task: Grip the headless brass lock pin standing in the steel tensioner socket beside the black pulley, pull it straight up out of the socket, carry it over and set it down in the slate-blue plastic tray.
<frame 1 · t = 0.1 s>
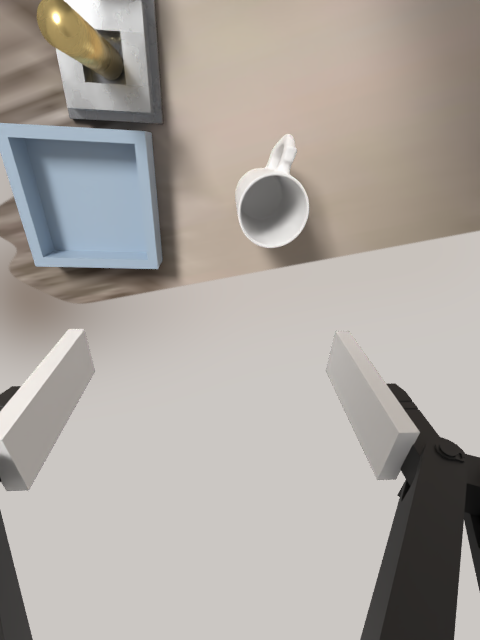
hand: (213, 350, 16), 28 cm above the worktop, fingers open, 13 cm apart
tray: (96, 200, 37), on the worktop
mug: (263, 181, 38), on the worktop
tensioner: (104, 17, 29), on the worktop
lock pin: (108, 62, 31), point 1 cm above the worktop, touching tensioner
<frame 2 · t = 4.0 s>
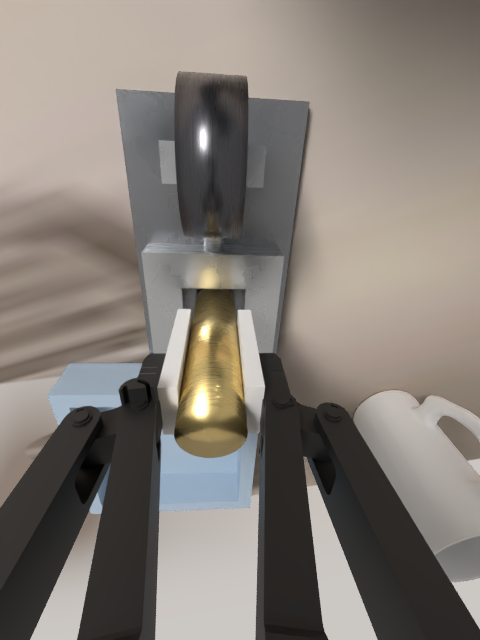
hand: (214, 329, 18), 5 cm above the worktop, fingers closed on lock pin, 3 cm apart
tray: (171, 426, 28), on the worktop
mug: (392, 399, 29), on the worktop
tensioner: (214, 252, 20), on the worktop
lock pin: (215, 303, 21), point 1 cm above the worktop, touching gripper
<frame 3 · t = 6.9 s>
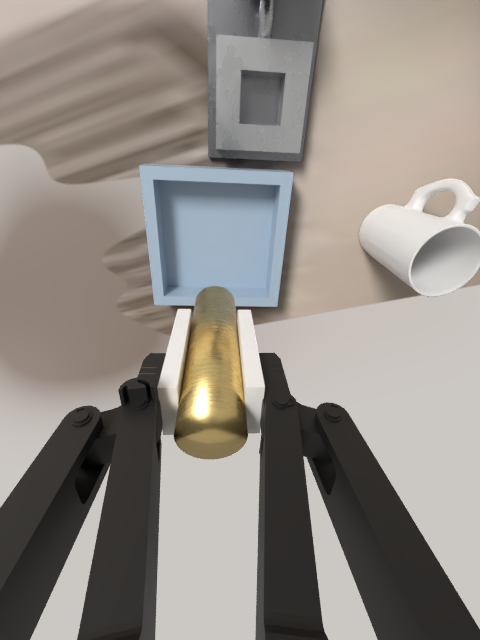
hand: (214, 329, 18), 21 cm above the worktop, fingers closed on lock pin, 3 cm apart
tray: (217, 236, 36), on the worktop
mug: (389, 217, 36), on the worktop
tensioner: (261, 56, 28), on the worktop
lock pin: (215, 304, 21), point 18 cm above the worktop, touching gripper
when the fingers open (5 cm above the worktop, at t = 10.0 s): lock pin stays where it is, resting on tray.
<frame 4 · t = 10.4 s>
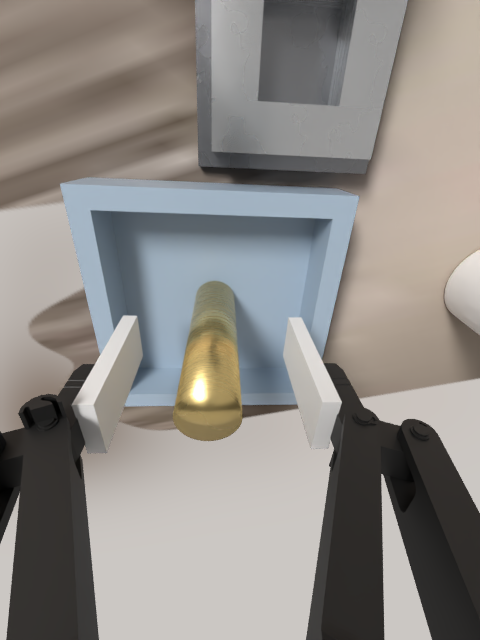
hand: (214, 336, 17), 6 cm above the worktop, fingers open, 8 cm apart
tray: (215, 295, 22), on the worktop
lock pin: (215, 298, 22), point 1 cm above the worktop, touching tray
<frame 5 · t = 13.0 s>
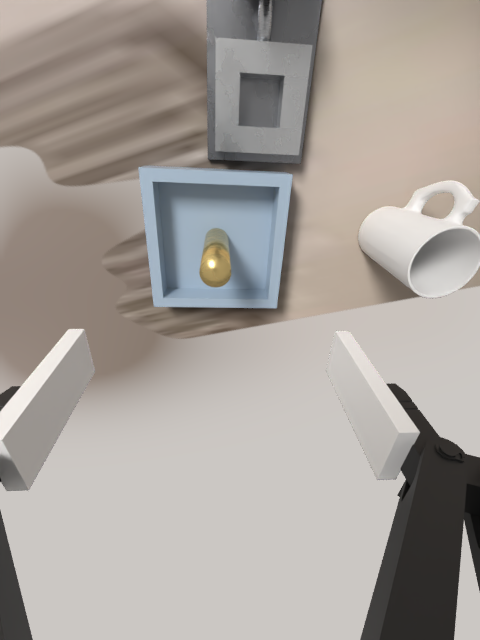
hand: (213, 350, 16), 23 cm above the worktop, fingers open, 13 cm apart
tray: (216, 238, 36), on the worktop
mug: (388, 218, 37), on the worktop
tensioner: (260, 59, 28), on the worktop
lock pin: (216, 239, 36), point 1 cm above the worktop, touching tray
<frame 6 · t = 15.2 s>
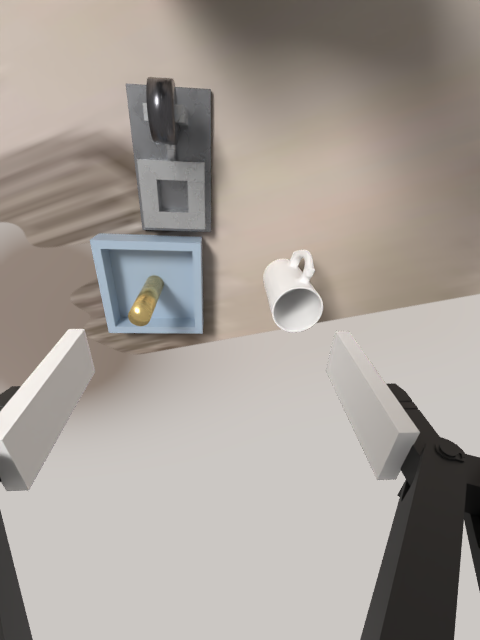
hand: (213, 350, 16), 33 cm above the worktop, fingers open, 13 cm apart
tray: (155, 282, 49), on the worktop
mug: (284, 266, 49), on the worktop
tensioner: (173, 166, 40), on the worktop
lock pin: (155, 283, 48), point 1 cm above the worktop, touching tray
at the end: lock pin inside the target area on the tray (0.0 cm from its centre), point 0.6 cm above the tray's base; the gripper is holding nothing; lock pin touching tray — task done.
